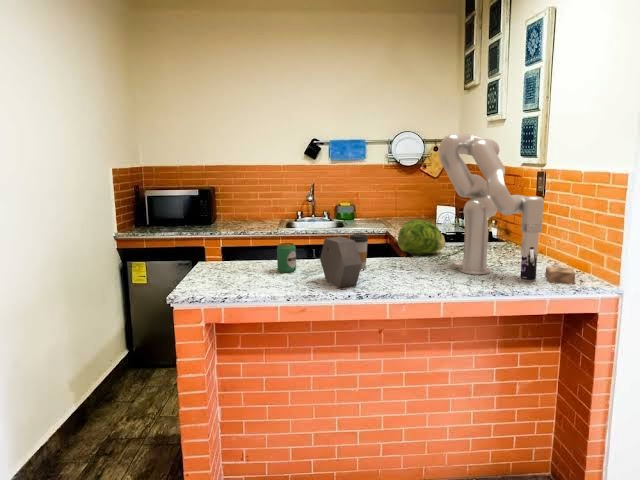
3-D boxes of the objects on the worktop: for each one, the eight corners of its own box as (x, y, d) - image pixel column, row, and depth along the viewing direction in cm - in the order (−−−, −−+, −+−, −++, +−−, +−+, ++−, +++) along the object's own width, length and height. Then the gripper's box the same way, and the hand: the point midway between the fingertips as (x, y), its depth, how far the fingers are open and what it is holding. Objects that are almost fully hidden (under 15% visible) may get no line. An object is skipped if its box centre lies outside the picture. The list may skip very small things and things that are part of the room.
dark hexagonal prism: (366, 277, 181) (350, 227, 188) (348, 280, 178) (333, 229, 185) (346, 292, 195) (333, 245, 202) (330, 294, 192) (316, 247, 199)
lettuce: (456, 241, 235) (445, 215, 248) (412, 234, 229) (403, 208, 242) (440, 266, 247) (431, 240, 260) (397, 260, 241) (390, 234, 254)
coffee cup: (371, 268, 215) (372, 235, 212) (359, 272, 209) (360, 237, 206) (356, 266, 220) (357, 233, 218) (344, 269, 214) (344, 235, 212)
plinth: (548, 282, 190) (549, 271, 190) (545, 276, 199) (546, 266, 198) (574, 284, 188) (575, 273, 187) (569, 278, 196) (570, 267, 196)
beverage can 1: (286, 274, 206) (286, 246, 204) (273, 271, 211) (273, 244, 209) (299, 271, 211) (299, 244, 209) (287, 268, 217) (286, 241, 215)
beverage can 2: (522, 277, 198) (524, 248, 196) (537, 279, 194) (539, 250, 192) (518, 280, 193) (520, 250, 191) (533, 282, 190) (535, 252, 188)
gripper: (518, 224, 199) (515, 267, 202) (523, 231, 183) (520, 278, 186) (538, 225, 197) (535, 268, 200) (545, 232, 181) (541, 279, 184)
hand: (528, 272), depth 193 cm, fingers closed on beverage can 2, 5 cm apart
